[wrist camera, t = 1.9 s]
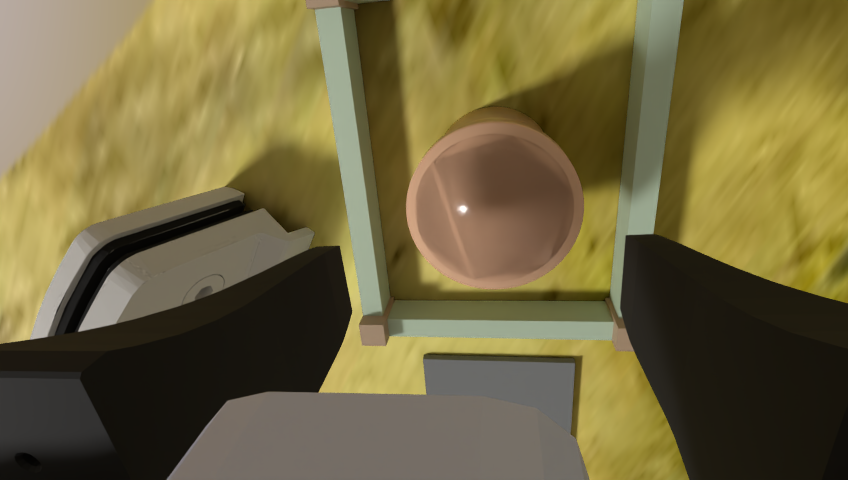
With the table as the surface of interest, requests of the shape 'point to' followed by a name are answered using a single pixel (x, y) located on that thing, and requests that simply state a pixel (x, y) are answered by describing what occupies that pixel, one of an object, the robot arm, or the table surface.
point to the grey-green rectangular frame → (497, 318)
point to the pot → (494, 201)
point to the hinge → (162, 260)
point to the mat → (507, 381)
